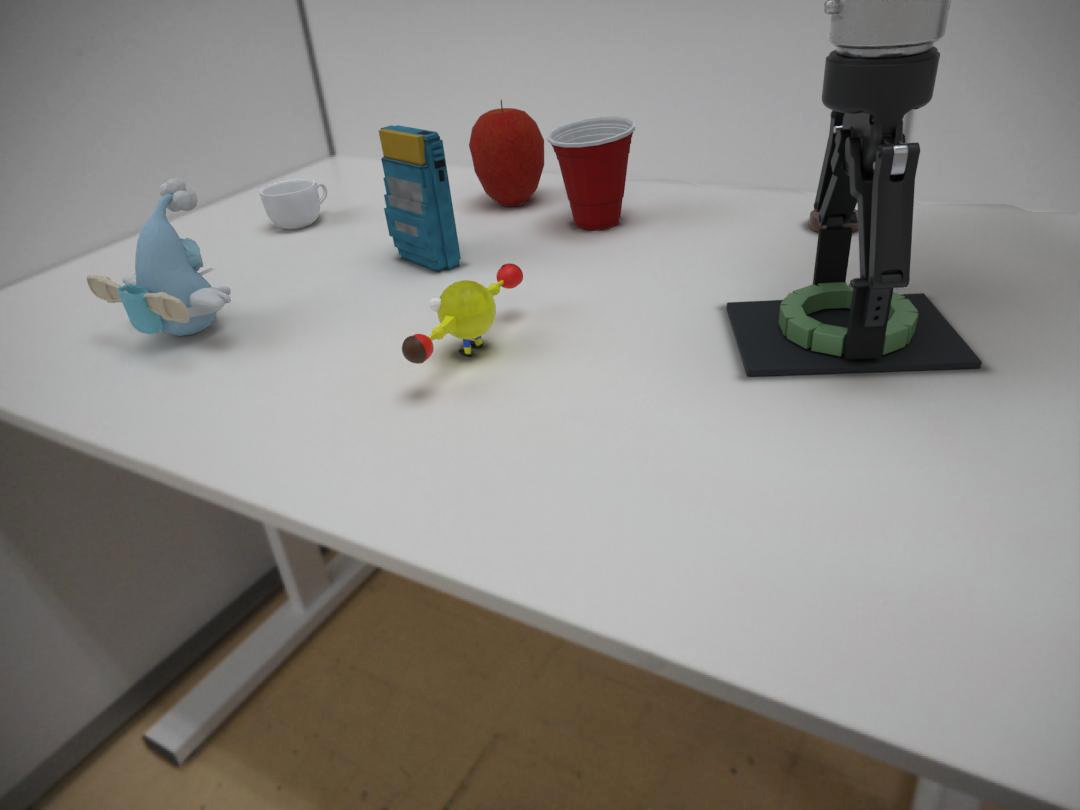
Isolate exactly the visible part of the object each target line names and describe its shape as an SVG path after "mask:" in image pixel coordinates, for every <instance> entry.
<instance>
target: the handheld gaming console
mask: <svg viewBox="0 0 1080 810" xmlns="http://www.w3.org/2000/svg"><path fill="white" fill-rule="evenodd" d="M378 135H379V141H380V145H381V150H382V155H383V156H382V157H381V159H380V161H381V166H382V170H383V174H384V177H383V183H384V188H385V194H383V196H384V197H383V198H384V202H385V207H384V208H383V211H384V215H385V221H386V226H387V230H388V236H389V237H391V238H392V242H393V246H394V248H397V253H398V255H399V256H400V259H402V260H405V261H407V262H410V263H413V264H415V265H419V266H421V267H423V268H426V269H429V270H431V271H435V272H437V273H438V272H441V271H443V270H448V271H451V270H453V269H456V268H459V267H460V260H462V258H461V257H462V256H461V251H460V244H459V237H458V232H457V225H456V218H455V212H454V211H455V210H454V205H453V199H452V191H451V186H450V180H449V173H448V168H447V161H446V155H445V148H444V141H443V139H441V136H440V134H439V133H438V131H433V130H427V129H421V128H416V127H411V126H404V125H399V124H398V125H397V124H396V125H394V124H393V125H392V124H391V125H388V126H383V127H380V129H379V130H378Z"/></svg>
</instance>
